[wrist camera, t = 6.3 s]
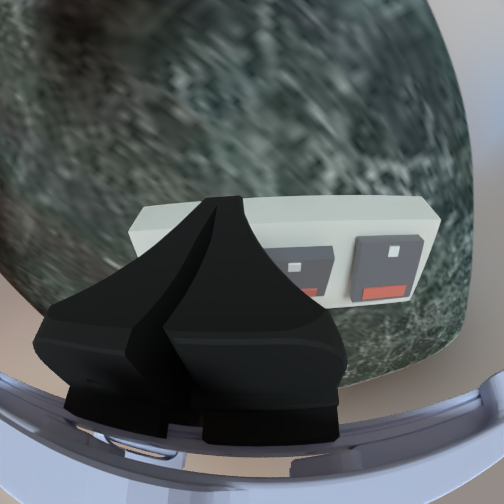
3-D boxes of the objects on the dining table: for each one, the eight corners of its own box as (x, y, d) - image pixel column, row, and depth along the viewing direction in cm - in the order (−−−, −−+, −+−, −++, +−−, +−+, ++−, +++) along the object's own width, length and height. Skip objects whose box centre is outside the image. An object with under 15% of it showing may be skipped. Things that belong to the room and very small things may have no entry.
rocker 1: (322, 284, 21) (324, 297, 21) (258, 286, 22) (258, 300, 21) (332, 244, 17) (335, 260, 17) (253, 248, 18) (253, 263, 17)
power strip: (398, 274, 25) (411, 304, 22) (170, 284, 27) (161, 315, 24) (421, 196, 20) (444, 223, 17) (143, 206, 21) (125, 235, 18)
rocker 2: (404, 288, 20) (409, 297, 19) (348, 293, 20) (352, 303, 19) (418, 234, 18) (425, 241, 17) (357, 235, 18) (362, 243, 17)
